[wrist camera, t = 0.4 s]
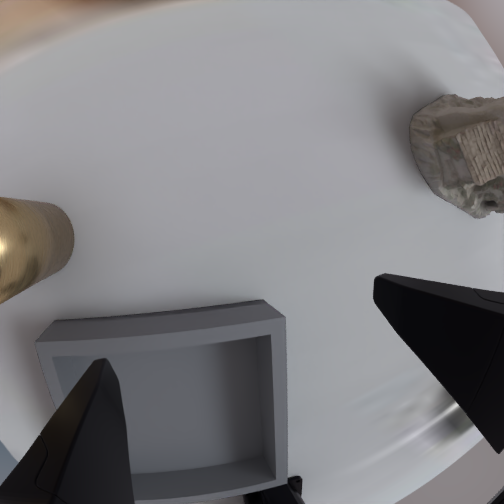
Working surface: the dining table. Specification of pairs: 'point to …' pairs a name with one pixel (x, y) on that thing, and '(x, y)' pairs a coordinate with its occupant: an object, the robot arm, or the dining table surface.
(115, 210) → the dining table surface
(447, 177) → the ceramic cottage
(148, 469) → the charcoal bin
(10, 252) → the brass canister
